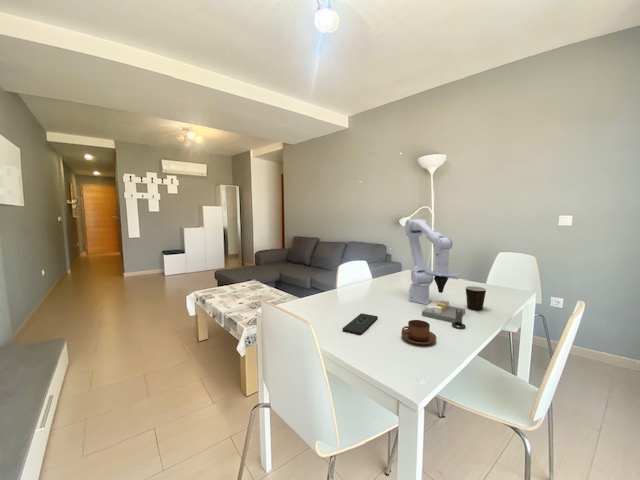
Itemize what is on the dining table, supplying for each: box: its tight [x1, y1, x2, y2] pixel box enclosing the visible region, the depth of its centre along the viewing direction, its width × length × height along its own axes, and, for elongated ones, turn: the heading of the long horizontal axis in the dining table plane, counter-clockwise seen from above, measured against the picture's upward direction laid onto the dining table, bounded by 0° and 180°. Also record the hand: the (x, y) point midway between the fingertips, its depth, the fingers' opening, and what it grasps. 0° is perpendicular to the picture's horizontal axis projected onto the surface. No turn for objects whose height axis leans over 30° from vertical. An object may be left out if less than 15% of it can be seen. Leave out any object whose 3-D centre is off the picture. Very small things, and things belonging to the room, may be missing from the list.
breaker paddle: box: [437, 303, 446, 311], centre depth 127 cm, size 3×2×3 cm, turn 50°
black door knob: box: [451, 309, 466, 330], centre depth 112 cm, size 5×5×7 cm
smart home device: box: [342, 312, 379, 336], centre depth 115 cm, size 8×2×20 cm
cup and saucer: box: [401, 319, 437, 345], centre depth 101 cm, size 12×12×6 cm
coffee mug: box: [465, 285, 487, 312], centre depth 132 cm, size 12×9×10 cm
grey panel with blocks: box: [421, 299, 466, 324], centre depth 126 cm, size 14×16×5 cm
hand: (440, 292), depth 129 cm, fingers closed
